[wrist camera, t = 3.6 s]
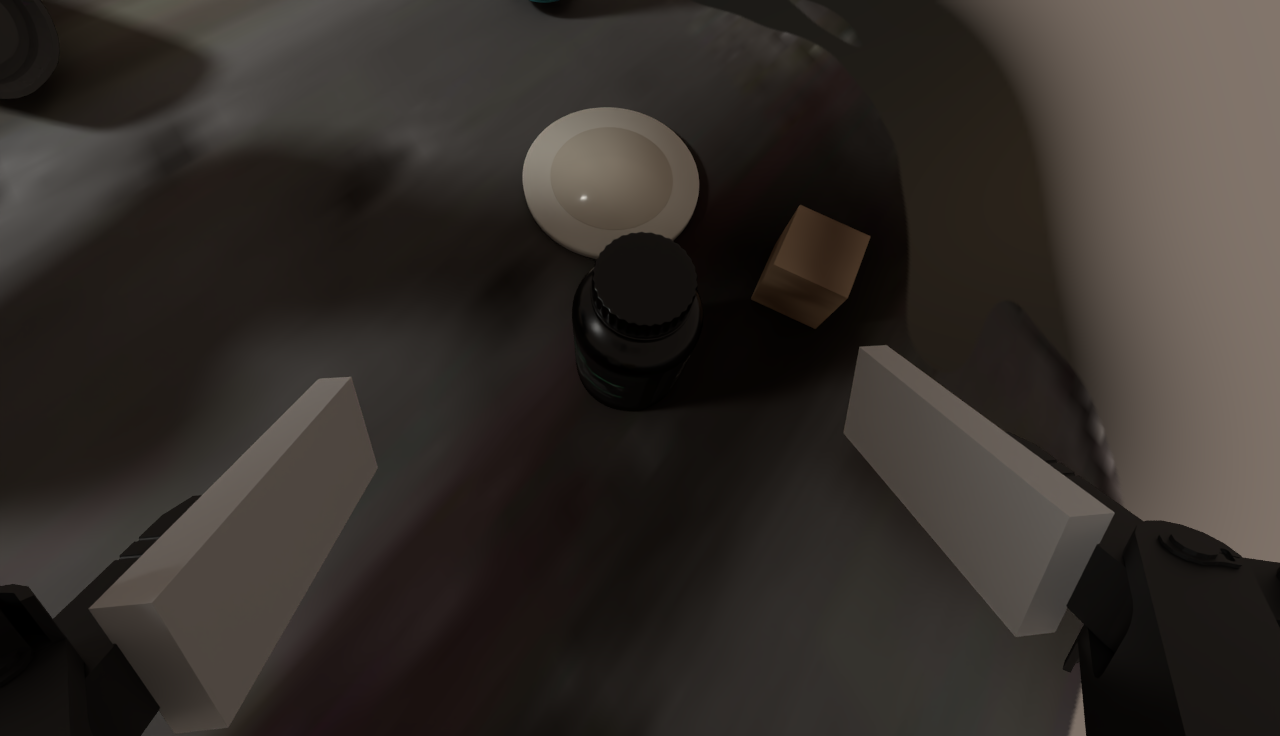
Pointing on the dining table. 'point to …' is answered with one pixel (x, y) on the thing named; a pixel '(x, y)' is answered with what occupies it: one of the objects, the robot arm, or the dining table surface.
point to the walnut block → (811, 267)
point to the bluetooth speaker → (26, 47)
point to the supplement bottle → (636, 321)
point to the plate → (609, 179)
